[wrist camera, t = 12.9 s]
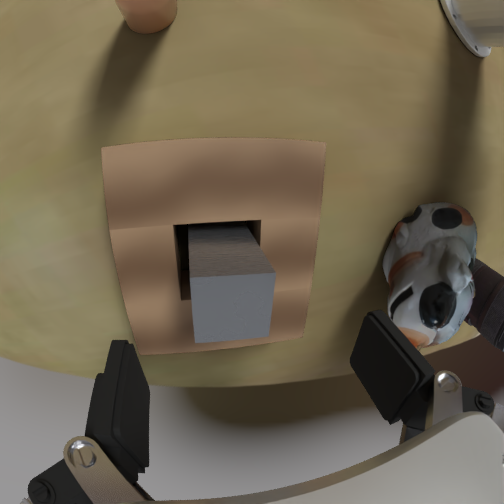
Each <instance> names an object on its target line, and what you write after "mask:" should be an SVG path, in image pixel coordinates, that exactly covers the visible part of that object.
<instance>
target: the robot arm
mask: <svg viewBox="0 0 504 504" xmlns="http://www.w3.org/2000/svg"><path fill="white" fill-rule="evenodd" d="M440 1H441V4H442V7H443V9H444V12H445V14H446V16H447V18H448V20H449V22H450V24H451V25H452V27H453V29H454V31H455V32H456V34H457V35H458V37H459V38H460V40H461V41H462V42H463V44H464V45H465V46H466V47H467V48H468V49H469V50H470V51H471V52H472V53H473V54H475V55H476V56H479V57H487V56H488V55H489V54H490V51H491V47H504V0H440ZM350 364H351V367H352V368H353V370H354V371H355V373H356V374H357V376H358V378H359V379H360V381H361V383H362V384H363V386H364V387H365V389H366V390H367V392H368V394H369V395H370V397H371V399H372V400H373V402H374V403H375V405H376V407H377V408H378V410H379V412H380V413H381V415H382V417H383V418H384V419H385V420H388V422H389V424H390V425H391V424H393V423H395V422H397V421H399V420H400V419H401V420H402V421H403V427H402V432H401V436H400V442H399V445H398V446H396V447H394V448H392V449H390V450H388V451H386V452H384V453H382V454H379V455H377V456H375V457H373V458H370V459H368V460H366V461H364V462H361V463H359V464H356V465H354V466H351V467H349V468H346V469H343V470H341V471H338V472H335V473H332V474H329V475H326V476H323V477H320V478H317V479H314V480H310V481H307V482H303V483H299V484H295V485H292V486H287V487H283V488H279V489H274V490H269V491H264V492H259V493H253V494H247V495H240V496H232V497H223V498H212V499H199V500H169V501H155V500H154V499H153V498H152V497H151V496H150V495H149V494H148V493H147V492H146V491H145V490H144V489H143V488H142V487H141V486H140V485H139V484H138V483H137V481H138V473H145V467H149V404H150V390H149V386H148V383H147V381H146V378H145V376H144V373H143V370H142V368H141V365H140V362H139V360H138V357H137V354H136V351H135V348H134V345H133V344H129V343H128V341H127V340H112V342H111V346H110V350H109V354H108V358H107V362H106V366H105V371H104V373H99V374H98V375H97V376H96V379H95V383H94V388H93V392H92V397H91V402H90V407H89V412H88V419H87V424H86V430H85V437H84V436H78V437H75V438H72V439H71V440H69V441H68V442H67V444H66V445H65V448H64V451H63V454H64V459H62V460H61V461H59V462H58V463H56V464H55V465H53V466H52V467H50V468H49V469H47V470H46V471H44V472H43V473H41V474H39V475H38V476H36V477H35V478H33V479H32V480H31V481H30V483H29V485H28V494H29V497H28V498H27V499H26V498H24V499H23V500H22V502H21V503H20V504H504V407H503V406H501V405H499V404H498V403H495V405H494V401H493V399H492V397H491V396H490V395H489V394H488V393H486V392H484V391H479V390H475V389H471V388H467V387H462V386H461V382H460V380H459V378H458V377H457V376H456V375H455V374H454V373H452V372H449V371H441V372H439V373H437V374H436V376H435V375H434V372H435V370H434V369H433V368H432V367H431V365H430V364H429V363H428V362H427V360H426V359H425V358H424V357H423V356H422V355H421V353H420V352H419V351H418V350H417V349H416V348H415V346H414V345H413V344H412V343H411V342H410V341H409V340H408V338H407V337H406V336H405V335H404V334H403V333H402V332H401V331H400V329H399V328H398V327H397V326H396V325H395V324H394V323H393V322H392V321H391V319H390V318H389V317H388V316H387V315H386V314H385V313H384V312H383V311H382V310H376V311H372V312H369V313H368V314H367V316H365V318H364V320H363V323H362V326H361V329H360V332H359V335H358V338H357V341H356V344H355V346H354V349H353V352H352V355H351V357H350Z"/></svg>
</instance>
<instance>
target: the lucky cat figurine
mask: <svg viewBox="0 0 504 504" xmlns="http://www.w3.org/2000/svg"><path fill="white" fill-rule="evenodd" d="M476 241H477V231H476V224H475V222H474V220H473V218H472V216H471V215H470V213H469V212H468V211H467V210H466V209H464V208H463V207H461V206H459V205H456V204H453V203H445V202H441V203H440V202H438V203H431V204H423V205H419V206H418V207H417V208H416V210H415V212H414V214H413V216H410V217H407V218H404V219H402V220H401V221H399V222H398V224H397V226H396V228H395V230H394V233H393V236H392V238H391V241H390V243H389V246H388V248H387V250H386V253H385V255H384V260H383V269H384V273H385V276H386V280H387V282H388V283H389V287H390V291H389V295H388V297H387V300H388V315H389V317H390V319H391V321H392V322H393V323H394V324H395V325H396V326H397V327H398V328H399V329H400V331H401V332H402V333H403V334H404V335H405V336H406V337H407V338H408V340H409V341H410V342H411V343H412V344H413V345H414V346H415V348H416V349H417V350H418V351H419V350H420V348H426V347H430V346H434V345H438V344H440V343H442V342H444V341H447V340H448V339H450V338H451V337H452V336H453V335H454V334H455V333H456V332H457V331H458V330H459V327H460V325H461V323H462V322H463V320H464V319H465V317H466V316H467V314H468V313H469V311H470V308H471V305H472V300H473V298H474V296H475V286H474V280H473V275H472V270H473V267H474V263H475V258H476V248H475V246H476Z"/></svg>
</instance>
